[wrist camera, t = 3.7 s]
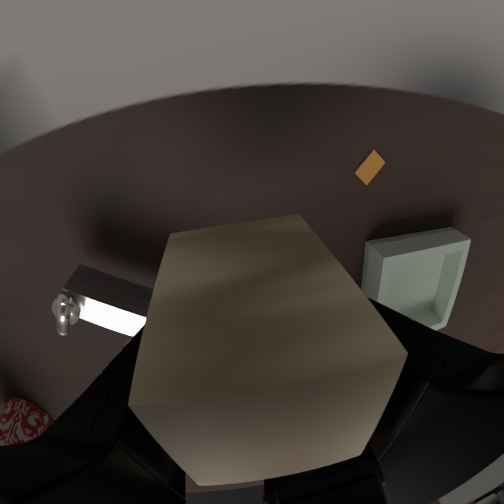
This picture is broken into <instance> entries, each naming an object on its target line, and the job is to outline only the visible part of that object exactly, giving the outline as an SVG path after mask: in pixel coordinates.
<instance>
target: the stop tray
mask: <svg viewBox="0 0 504 504" xmlns="http://www.w3.org/2000/svg"><path fill="white" fill-rule="evenodd" d="M470 241H471V239H470V238H468V237H467V236H465V235H464V234H462V233H460V232H459V231H457V230H456V229H454V228H452V227H446V228H440V229H435V230H429V231H423V232H417V233H411V234H405V235H399V236H394V237H388V238H382V239H376V240H370V241H365V253H364V265H363V275H362V284H361V290H362V292H363V293H364V294H365V296H367V297H369V298H371V299H373V300H375V301H377V302H379V303H381V304H383V305H385V306H387V307H389V308H391V309H393V310H395V311H397V312H399V313H401V314H403V315H405V316H407V317H409V318H411V319H412V320H415V321H417V322H419V323H421V324H423V325H425V326H427V327H430V328H432V329H434V330H438V329H440V328H443V327H445V326H446V324H447V322H448V319H449V316H450V313H451V310H452V307H453V304H454V301H455V298H456V295H457V292H458V288H459V285H460V282H461V278H462V274H463V271H464V267H465V263H466V259H467V255H468V250H469V246H470Z"/></svg>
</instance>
